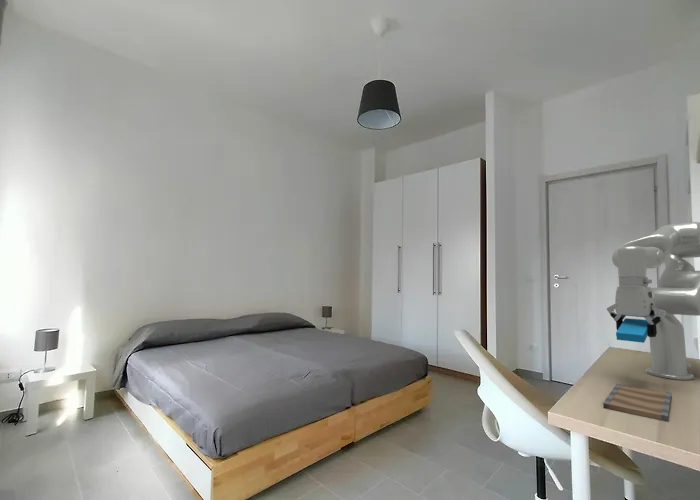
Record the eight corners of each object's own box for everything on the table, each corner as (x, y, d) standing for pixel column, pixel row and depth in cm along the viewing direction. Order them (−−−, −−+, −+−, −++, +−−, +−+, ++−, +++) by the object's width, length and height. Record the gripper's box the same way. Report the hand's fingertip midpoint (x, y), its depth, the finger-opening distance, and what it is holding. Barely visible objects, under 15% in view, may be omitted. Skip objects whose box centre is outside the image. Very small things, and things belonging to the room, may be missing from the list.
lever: (645, 356, 107) (654, 336, 119) (643, 335, 107) (652, 316, 118) (618, 353, 113) (629, 333, 124) (615, 332, 112) (627, 314, 124)
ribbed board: (616, 387, 111) (616, 383, 111) (671, 397, 102) (671, 392, 102) (603, 407, 94) (603, 402, 94) (668, 421, 85) (668, 416, 85)
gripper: (670, 283, 111) (674, 338, 109) (612, 282, 127) (614, 330, 125) (657, 282, 108) (661, 339, 106) (598, 282, 124) (601, 331, 122)
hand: (636, 334), depth 115 cm, fingers closed on lever, 8 cm apart
